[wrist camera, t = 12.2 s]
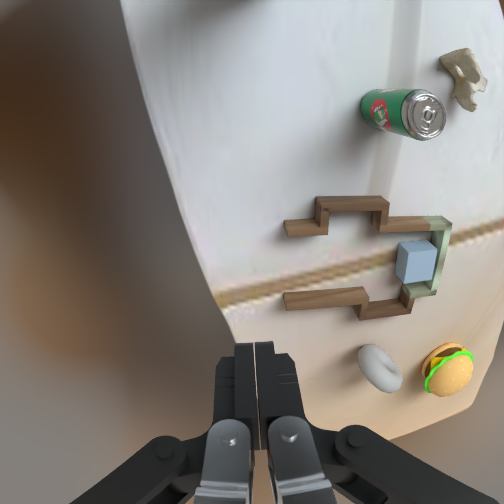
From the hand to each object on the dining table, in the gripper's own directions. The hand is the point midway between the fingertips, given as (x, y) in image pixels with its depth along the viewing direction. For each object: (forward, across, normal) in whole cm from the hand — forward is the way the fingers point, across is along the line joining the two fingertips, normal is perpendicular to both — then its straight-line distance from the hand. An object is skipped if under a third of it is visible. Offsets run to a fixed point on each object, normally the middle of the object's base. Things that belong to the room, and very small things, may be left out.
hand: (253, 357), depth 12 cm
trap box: (+29, -17, +12) cm, 36 cm away
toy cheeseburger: (+29, -39, +37) cm, 61 cm away
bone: (+29, -30, -15) cm, 45 cm away
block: (+29, -24, +12) cm, 40 cm away
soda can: (+29, -17, -9) cm, 35 cm away
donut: (+29, -21, +30) cm, 47 cm away
